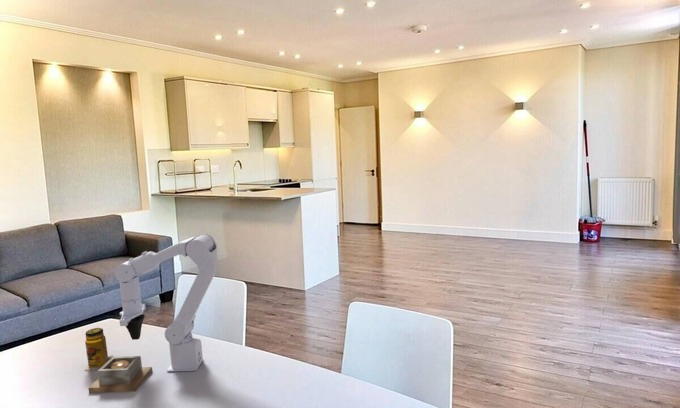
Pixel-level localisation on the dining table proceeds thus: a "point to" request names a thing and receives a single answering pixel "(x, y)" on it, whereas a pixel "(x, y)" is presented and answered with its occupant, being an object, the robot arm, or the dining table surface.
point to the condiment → (96, 349)
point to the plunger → (120, 364)
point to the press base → (121, 376)
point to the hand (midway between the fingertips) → (136, 338)
